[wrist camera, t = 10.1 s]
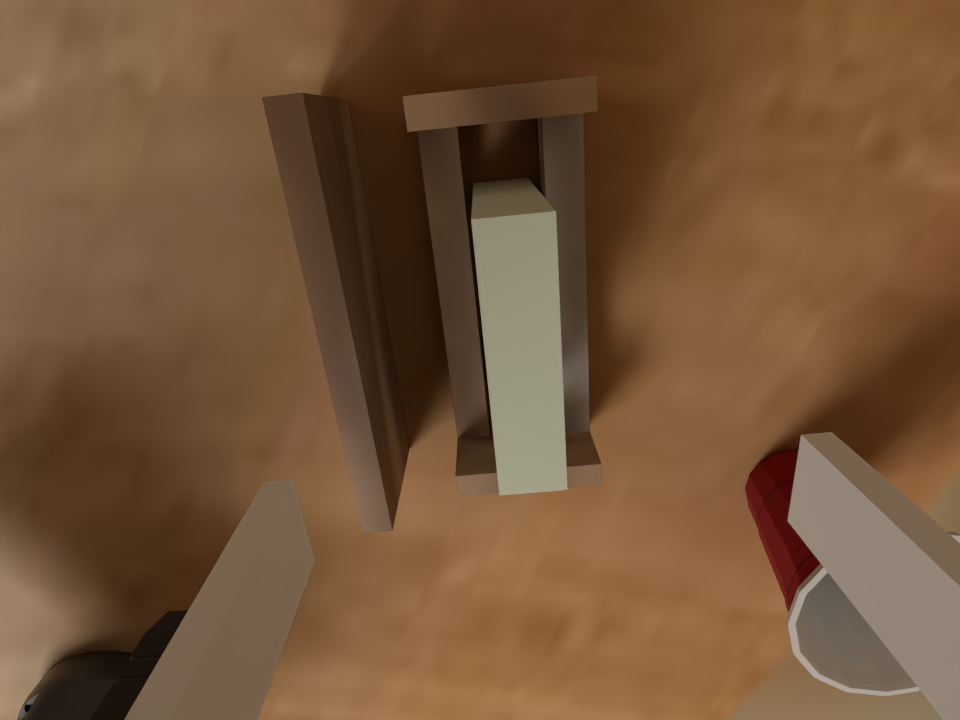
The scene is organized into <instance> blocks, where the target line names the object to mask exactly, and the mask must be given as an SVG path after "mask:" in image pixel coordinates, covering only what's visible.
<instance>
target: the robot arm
mask: <svg viewBox="0 0 960 720" xmlns="http://www.w3.org/2000/svg"><path fill="white" fill-rule="evenodd" d="M788 522H789V524H790V525H791V526H792V527H793V529H794V530H795V531H796V532H797V534H798V535H799V536H800V538H801V539H802V540H803V541H804V543H805V544H806V545H807V546H808V548H809V549H810V550H811V552H812V553H813V554H814V555H815V557H816V558H817V559H818V560H819V562H820V563H821V564H822V566H823V567H824V568H825V569H826V571H827V572H828V573H829V574H830V576H831V577H832V578H833V580H834V581H835V582H836V583H837V585H838V586H839V587H840V589H841V590H842V591H843V592H844V594H845V595H846V596H847V597H848V599H849V600H850V601H851V603H852V604H853V605H854V606H855V608H856V609H857V610H858V611H859V613H860V614H861V615H862V617H863V618H864V619H865V620H866V622H867V623H868V624H869V625H870V627H871V628H872V629H873V631H874V632H875V633H876V634H877V636H878V637H879V638H880V639H881V641H882V642H883V643H884V645H885V646H886V647H887V648H888V650H889V651H890V652H891V653H892V655H893V656H894V657H895V659H896V660H897V661H898V662H899V664H900V665H901V666H902V667H903V669H904V670H905V671H906V673H907V674H908V675H909V676H910V678H911V679H912V680H913V681H914V683H915V684H916V685H917V687H918V688H919V689H920V690H921V692H922V693H923V694H924V695H925V697H926V698H927V699H928V701H929V702H930V703H931V704H932V706H933V707H934V708H935V709H936V711H937V712H938V713H939V714H940V716H941V717H942V718H943V720H960V543H959V542H958V541H957V540H956V539H955V538H953V537H952V536H951V535H950V534H949V533H948V532H947V531H945V530H944V529H943V528H942V527H941V526H940V525H938V524H937V523H936V522H935V521H934V520H933V519H932V518H930V517H929V516H928V515H927V514H926V513H925V512H923V511H922V510H921V509H920V508H919V507H918V506H917V505H915V504H914V503H913V502H912V501H911V500H910V499H908V498H907V497H906V496H905V495H904V494H903V493H902V492H900V491H899V490H898V489H897V488H896V487H895V486H893V485H892V484H891V483H890V482H889V481H888V480H887V479H885V478H884V477H883V476H882V475H881V474H880V473H878V472H877V471H876V470H875V469H874V468H873V467H872V466H870V465H869V464H868V463H867V462H866V461H865V460H863V459H862V458H861V457H860V456H859V455H858V454H857V453H855V452H854V451H853V450H852V449H851V448H850V447H848V446H847V445H846V444H845V443H844V442H843V441H842V440H840V439H839V438H838V437H837V436H836V435H835V434H833V433H832V432H825V433H814V434H802V435H801V438H800V444H799V451H798V457H797V464H796V470H795V476H794V483H793V489H792V495H791V502H790V508H789V515H788ZM314 562H315V558H314V554H313V551H312V547H311V544H310V540H309V537H308V533H307V530H306V526H305V523H304V519H303V516H302V512H301V508H300V505H299V501H298V498H297V494H296V491H295V487H294V484H293V480H292V479H291V480H280V481H269V482H263V484H262V485H261V487H260V489H259V490H258V492H257V494H256V496H255V497H254V499H253V501H252V502H251V504H250V506H249V508H248V509H247V511H246V513H245V514H244V516H243V518H242V519H241V521H240V523H239V525H238V526H237V528H236V530H235V531H234V533H233V535H232V537H231V538H230V540H229V542H228V543H227V545H226V547H225V548H224V550H223V552H222V554H221V555H220V557H219V559H218V560H217V562H216V564H215V566H214V567H213V569H212V571H211V572H210V574H209V576H208V577H207V579H206V581H205V583H204V584H203V586H202V588H201V589H200V591H199V593H198V595H197V596H196V598H195V600H194V601H193V603H192V605H191V607H190V608H189V610H184V611H172V612H167V613H166V614H165V615H164V616H163V617H162V618H161V619H160V620H159V621H158V622H157V623H156V624H155V625H153V626H152V627H151V628H150V629H149V630H148V631H147V632H146V633H145V634H144V636H143V637H142V639H141V640H140V642H139V644H138V645H137V647H136V648H135V650H134V651H133V653H132V654H131V655H129V654H122V653H104V652H103V653H89V654H83V655H79V656H75V657H72V658H69V659H66V660H64V661H62V662H60V663H58V664H56V665H55V666H54V667H52V668H51V669H50V670H49V671H48V672H47V673H46V674H45V675H44V677H43V678H42V679H41V680H40V682H39V683H38V684H37V686H36V687H35V688H34V689H33V691H32V692H31V693H30V695H29V696H28V697H27V699H26V701H25V702H24V704H23V706H22V708H21V711H20V713H19V716H18V719H17V720H257V719H258V717H259V714H260V711H261V708H262V706H263V703H264V700H265V697H266V694H267V692H268V689H269V686H270V683H271V681H272V678H273V675H274V672H275V670H276V667H277V664H278V661H279V659H280V656H281V653H282V650H283V648H284V645H285V642H286V639H287V637H288V634H289V631H290V628H291V626H292V623H293V620H294V617H295V615H296V612H297V609H298V606H299V604H300V601H301V598H302V595H303V593H304V590H305V587H306V584H307V582H308V579H309V576H310V573H311V571H312V568H313V565H314Z"/></svg>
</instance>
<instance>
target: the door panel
mask: <svg viewBox="0 0 960 720" xmlns="http://www.w3.org/2000/svg"><path fill="white" fill-rule="evenodd" d="M471 224H472V234H473V243H474V253H475V263H476V273H477V282H478V292H479V302H480V312H481V321H482V331H483V341H484V351H485V360H486V370H487V380H488V390H489V399H490V409H491V419H492V429H493V438H494V448H495V458H496V468H497V477H498V487H499V495H511V494H523V493H535V492H548V491H560V490H567V466H566V442H565V418H564V393H563V369H562V345H561V320H560V296H559V272H558V247H557V223H556V210H555V209H554V208H553V207H552V206H551V205H550V203H549V202H548V201H547V200H546V199H545V197H544V196H543V195H542V194H541V193H540V192H539V190H538V189H537V188H536V187H535V186H534V185H533V183H532V182H531V181H530V180H529V179H528V178H519V179H509V180H500V181H490V182H480V183H473V198H472V213H471Z"/></svg>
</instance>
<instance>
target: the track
mask: <svg viewBox="0 0 960 720" xmlns="http://www.w3.org/2000/svg"><path fill="white" fill-rule="evenodd" d="M402 97H403V104H404V111H405V119H406V126H407V132H412V131H417V135H418V142H419V150H420V157H421V165H422V172H423V180H424V188H425V195H426V203H427V210H428V218H429V225H430V233H431V240H432V248H433V255H434V263H435V270H436V278H437V285H438V293H439V300H440V308H441V315H442V323H443V330H444V338H445V345H446V353H447V360H448V368H449V375H450V383H451V390H452V398H453V405H454V413H455V420H456V428H457V435H458V444H457V460H456V476H455V477H456V484H457V491H458V496H469V495H482V494H494V493H499V487H498V477H497V468H496V458H495V448H494V438H493V429H492V420H489V416H488V406H487V396H486V387H485V377H484V368H483V358H482V349H481V339H480V330H479V320H478V311H477V301H476V292H475V282H474V273H473V263H472V253H471V244H470V234H469V225H468V215H467V206H466V196H465V187H464V177H463V168H462V158H461V149H460V139H459V129H458V127H459V126H468V125H478V124H487V123H496V122H506V121H515V120H525V119H534V118H537V124H538V144H539V163H540V183H541V194H542V195H543V196H544V197H545V199H546V200H547V201H548V202H549V203H550V205H551V206H552V207H553V208H554V209H555V210H556V223H557V247H558V272H559V296H560V320H561V345H562V369H563V393H564V418H565V442H566V466H567V487H580V486H592V485H602V466H601V461H600V459H599V456H598V453H597V450H596V447H595V445H594V442H593V439H592V436H591V433H590V416H589V366H588V316H587V266H586V217H585V167H584V117H583V113H590V112H598V84H597V75H592V76H583V77H574V78H565V79H556V80H547V81H537V82H528V83H519V84H510V85H501V86H492V87H482V88H473V89H464V90H455V91H446V92H437V93H427V94H418V95H409V96H402ZM262 100H263V104H264V109H265V113H266V117H267V121H268V126H269V130H270V134H271V139H272V143H273V147H274V152H275V156H276V160H277V164H278V169H279V173H280V177H281V182H282V186H283V190H284V194H285V199H286V203H287V207H288V212H289V216H290V220H291V225H292V229H293V233H294V237H295V242H296V246H297V250H298V255H299V259H300V263H301V267H302V272H303V276H304V280H305V285H306V289H307V293H308V298H309V302H310V306H311V310H312V315H313V319H314V323H315V328H316V332H317V336H318V340H319V345H320V349H321V353H322V358H323V362H324V366H325V371H326V375H327V379H328V383H329V388H330V392H331V396H332V401H333V405H334V409H335V414H336V418H337V422H338V426H339V431H340V435H341V439H342V444H343V448H344V452H345V456H346V461H347V465H348V469H349V474H350V478H351V482H352V487H353V491H354V495H355V499H356V504H357V508H358V512H359V517H360V521H361V525H362V529H363V533H371V532H383V531H392V530H393V525H394V520H395V515H396V511H397V506H398V501H399V496H400V492H401V487H402V482H403V477H404V472H405V468H406V463H407V458H408V453H409V446H408V440H407V434H406V429H405V423H404V417H403V412H402V406H401V400H400V395H399V389H398V383H397V378H396V372H395V366H394V361H393V355H392V349H391V344H390V338H389V332H388V327H387V321H386V315H385V310H384V304H383V298H382V293H381V287H380V281H379V276H378V270H377V264H376V259H375V253H374V247H373V242H372V236H371V230H370V225H369V219H368V213H367V208H366V202H365V196H364V191H363V185H362V179H361V174H360V168H359V162H358V157H357V151H356V145H355V140H354V134H353V128H352V123H351V117H350V111H349V106H348V100H347V99H340V98H333V97H327V96H320V95H313V94H306V93H297V94H288V95H279V96H270V97H262Z"/></svg>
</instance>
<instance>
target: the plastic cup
mask: <svg viewBox="0 0 960 720" xmlns="http://www.w3.org/2000/svg"><path fill="white" fill-rule="evenodd" d="M798 451H799V450H787V451H783V452H779V453H775V454H773V455H771V456H770V457H768V458H767V459H765V460H763V461H762V462H760V463H759V464H758V465H757V466H756V468H755V469H754V470H753V471H752V472H751V474H750V475H749V478H748V481H747V484H746V487H745V489H746V495H747V500H748V506H749V509H750V511H751V513H752V516H753V518H754V520H755V523H756V525H757V527H758V530H759V535H760V538H761V541H762V543H763V546H764V548H765V551H766V553H767V556H768V558H769V561H770V563H771V566H772V568H773V571H774V573H775V576H776V578H777V581H778V583H779V586H780V588H781V590H782V593H783V595H784V598H785V603H786V607H787V610H788V612H789V613H788V616H787V622H788V627H789V633H790V639H791V644H792V649H793V654H794V655H795V656H796V657H797V658H798V660H799V661H800V662H801V663H802V664H803V665H804V666H805V668H806V669H807V670H808V671H809V672H810V673H811V675H812V676H813V677H814V678H817V679H819V680H821V681H823V682H825V683H828V684H830V685H832V686H834V687H836V688H839V689H841V690H843V691H845V692H852V693H861V694H870V695H881V696H889V695H896V694H902V693H908V692H915V691H921V690H920V689H919V688H918V687H917V685H916V684H915V683H914V681H913V680H912V679H911V678H910V676H909V675H908V674H907V673H906V671H905V670H904V669H903V667H902V666H901V665H900V664H899V662H898V661H897V660H896V659H895V657H894V656H893V655H892V653H891V652H890V651H889V650H888V648H887V647H886V646H885V645H884V643H883V642H882V641H881V639H880V638H879V637H878V636H877V634H876V633H875V632H874V631H873V629H872V628H871V627H870V625H869V624H868V623H867V622H866V620H865V619H864V618H863V617H862V615H861V614H860V613H859V611H858V610H857V609H856V608H855V606H854V605H853V604H852V603H851V601H850V600H849V599H848V597H847V596H846V595H845V594H844V592H843V591H842V590H841V589H840V587H839V586H838V585H837V583H836V582H835V581H834V580H833V578H832V577H831V576H830V574H829V573H828V572H827V571H826V569H825V568H824V567H823V566H822V564H821V563H820V562H819V560H818V559H817V558H816V557H815V555H814V554H813V553H812V552H811V550H810V549H809V548H808V546H807V545H806V544H805V543H804V541H803V540H802V539H801V538H800V536H799V535H798V534H797V532H796V531H795V530H794V529H793V527H792V526H791V525H790V524H789V522H788V515H789V508H790V502H791V495H792V489H793V483H794V476H795V470H796V464H797V457H798ZM948 533H949V534H950V535H951V536H952V537H953V538H955V539H956V540H957V541H958V542H959V543H960V535H959V534H957V533H955V532H948Z"/></svg>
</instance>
